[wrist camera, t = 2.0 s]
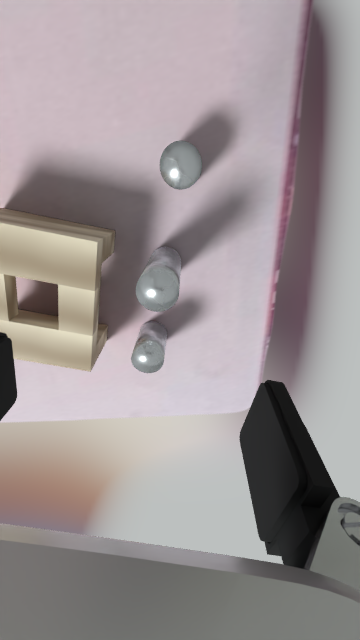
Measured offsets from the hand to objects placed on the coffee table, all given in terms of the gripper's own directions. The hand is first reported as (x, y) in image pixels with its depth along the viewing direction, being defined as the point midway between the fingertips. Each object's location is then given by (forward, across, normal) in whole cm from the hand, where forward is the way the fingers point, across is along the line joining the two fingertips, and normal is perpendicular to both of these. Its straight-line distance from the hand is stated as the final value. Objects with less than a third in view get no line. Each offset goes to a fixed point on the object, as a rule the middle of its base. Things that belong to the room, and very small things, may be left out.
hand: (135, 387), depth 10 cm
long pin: (+18, 0, 0) cm, 18 cm away
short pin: (+18, 0, -8) cm, 19 cm away
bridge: (+18, +10, +4) cm, 21 cm away
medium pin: (+18, 0, +8) cm, 19 cm away
